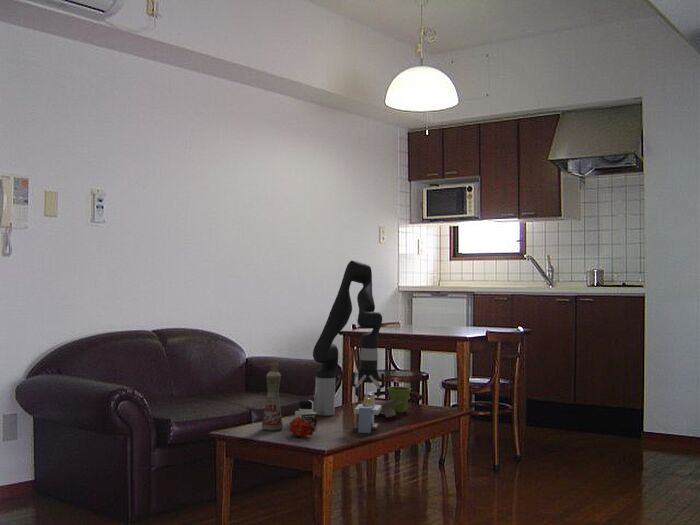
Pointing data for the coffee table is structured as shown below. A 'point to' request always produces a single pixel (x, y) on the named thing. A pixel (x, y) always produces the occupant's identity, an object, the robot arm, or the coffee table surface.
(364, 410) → the bracket
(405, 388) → the plant pot
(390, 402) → the white slotted block
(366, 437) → the coffee table surface
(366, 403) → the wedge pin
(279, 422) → the bottle
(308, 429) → the dragon fruit
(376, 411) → the grey piece
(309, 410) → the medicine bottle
